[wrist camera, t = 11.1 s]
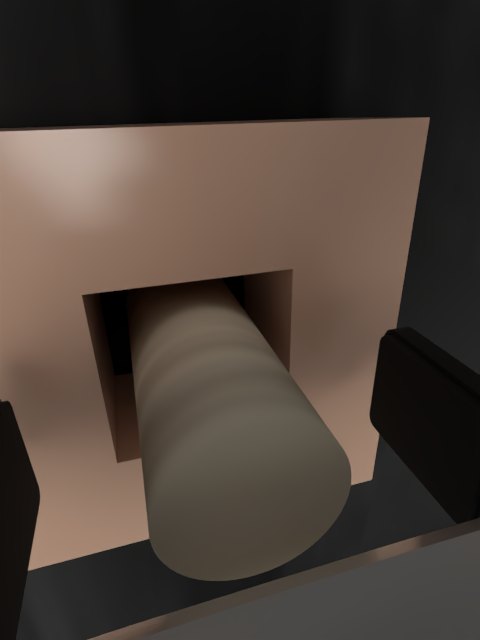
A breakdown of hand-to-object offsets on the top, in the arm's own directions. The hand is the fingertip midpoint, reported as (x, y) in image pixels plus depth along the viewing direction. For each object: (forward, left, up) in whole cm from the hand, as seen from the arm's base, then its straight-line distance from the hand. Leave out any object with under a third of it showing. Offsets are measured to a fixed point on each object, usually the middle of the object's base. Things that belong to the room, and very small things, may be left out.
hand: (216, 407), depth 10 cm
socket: (0, 0, -7) cm, 7 cm away
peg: (0, 0, -7) cm, 7 cm away
